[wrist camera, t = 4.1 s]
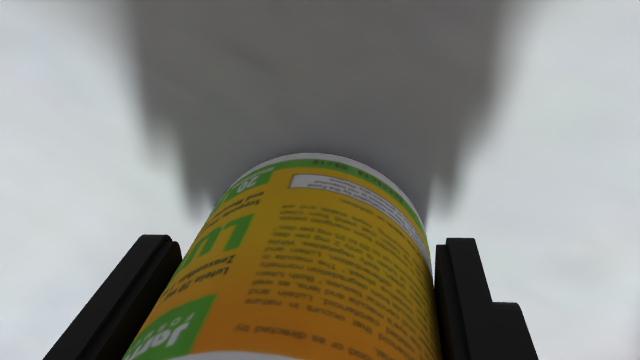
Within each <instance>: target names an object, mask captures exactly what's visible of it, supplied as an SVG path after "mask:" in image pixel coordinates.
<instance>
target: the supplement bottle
mask: <svg viewBox="0 0 640 360" xmlns="http://www.w3.org/2000/svg"><path fill="white" fill-rule="evenodd" d="M122 360H443V356H442V348H441V341H440V332H439V325H438V317H437V308H436V300H435V292H434V285H433V276H432V266H431V259H430V252H429V247H428V242H427V236H426V232H425V229H424V226H423V223H422V221H421V219H420V217H419V215H418V213H417V211H416V209H415V207H414V206H413V204H412V203H411V201H410V200H409V199H408V197H407V196H406V195H405V194H404V193H403V192H402V191H401V190H400V189H399V188H398V187H397V186H396V185H395V184H394V183H393V182H392V181H390V180H389V179H388V178H387V177H385V176H384V175H382V174H381V173H379V172H378V171H376V170H374V169H373V168H371V167H369V166H367V165H365V164H362V163H360V162H358V161H355V160H353V159H349V158H346V157H342V156H338V155H332V154H324V153H296V154H290V155H284V156H280V157H277V158H273V159H271V160H268V161H265V162H263V163H261V164H259V165H257V166H255V167H254V168H252V169H250V170H249V171H247V172H246V173H244V174H243V175H242V176H241V177H239V178H238V179H237V180H236V181H235V182H234V183H233V184H232V185H231V186H230V187H229V188H228V189H227V191H226V192H225V193H224V195H223V196H222V197H221V199H220V200H219V202H218V203H217V205H216V206H215V207H214V209H213V211H212V212H211V214H210V216H209V217H208V219H207V221H206V222H205V224H204V226H203V227H202V229H201V230H200V232H199V234H198V235H197V237H196V239H195V240H194V242H193V244H192V245H191V247H190V249H189V250H188V252H187V254H186V255H185V257H184V259H183V260H182V262H181V264H180V265H179V267H178V268H177V270H176V272H175V273H174V275H173V277H172V278H171V280H170V282H169V283H168V285H167V287H166V289H165V290H164V292H163V293H162V295H161V296H160V298H159V300H158V301H157V303H156V305H155V306H154V308H153V310H152V311H151V313H150V315H149V316H148V318H147V319H146V321H145V323H144V324H143V326H142V328H141V329H140V331H139V332H138V334H137V336H136V337H135V339H134V340H133V342H132V344H131V345H130V347H129V349H128V350H127V352H126V353H125V355H124V357H123V358H122Z"/></svg>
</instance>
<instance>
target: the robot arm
mask: <svg viewBox="0 0 640 360" xmlns="http://www.w3.org/2000/svg"><path fill="white" fill-rule="evenodd" d="M181 262H182V255H181V250H180V246H179V244H178V242H176V241H172V239H171V237H170V236H168V235H142V236H140V237H139V239H138V240H137V241H136V242H135V244H134V245H133V246H132V247H131V249H130V250H129V251H128V252H127V254H126V255H125V256H124V257H123V259H122V260H121V261H120V262H119V264H118V265H117V266H116V268H115V269H114V270H113V271H112V273H111V274H110V275H109V276H108V278H107V279H106V280H105V281H104V283H103V284H102V285H101V286H100V288H99V289H98V290H97V291H96V293H95V294H94V295H93V297H92V298H91V299H90V300H89V302H88V303H87V304H86V305H85V307H84V308H83V309H82V310H81V312H80V313H79V314H78V315H77V317H76V318H75V319H74V320H73V322H72V323H71V324H70V326H69V327H68V328H67V329H66V331H65V332H64V333H63V334H62V336H61V337H60V338H59V339H58V341H57V342H56V343H55V344H54V346H53V347H52V348H51V349H50V351H49V352H48V353H47V355H46V356H45V357H44V358H43V360H122V358H123V357H124V355H125V353H126V352H127V350H128V349H129V347H130V345H131V344H132V342H133V340H134V339H135V337H136V336H137V334H138V332H139V331H140V329H141V328H142V326H143V324H144V323H145V321H146V319H147V318H148V316H149V315H150V313H151V311H152V310H153V308H154V306H155V305H156V303H157V301H158V300H159V298H160V296H161V295H162V293H163V292H164V290H165V289H166V287H167V285H168V283H169V282H170V280H171V278H172V277H173V275H174V273H175V272H176V270H177V268H178V267H179V265H180V264H181ZM434 292H435V300H436V308H437V317H438V325H439V332H440V341H441V348H442V356H443V360H539V359H538V356H537V354H536V351H535V348H534V345H533V342H532V339H531V336H530V334H529V331H528V328H527V325H526V322H525V319H524V316H523V314H522V311H521V308H520V306H519V305H518V304H517V303H509V302H492V299H491V295H490V291H489V288H488V284H487V281H486V277H485V274H484V270H483V267H482V263H481V259H480V256H479V252H478V249H477V245H476V242H475V239H474V238H447V239H446V245H436V258H435V281H434Z"/></svg>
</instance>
